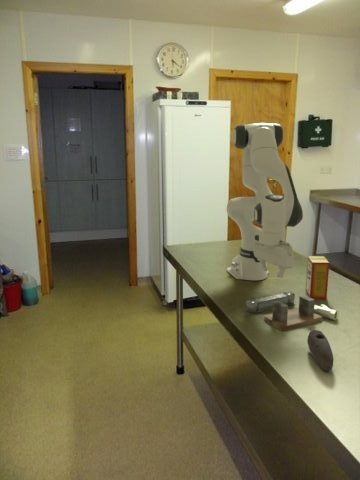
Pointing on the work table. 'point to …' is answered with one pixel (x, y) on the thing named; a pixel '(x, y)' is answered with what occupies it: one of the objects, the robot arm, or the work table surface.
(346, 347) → the work table surface
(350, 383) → the work table surface
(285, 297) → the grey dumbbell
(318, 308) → the pipe fitting
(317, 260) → the baking soda box
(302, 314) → the peg stand
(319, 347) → the perforated stone tool
